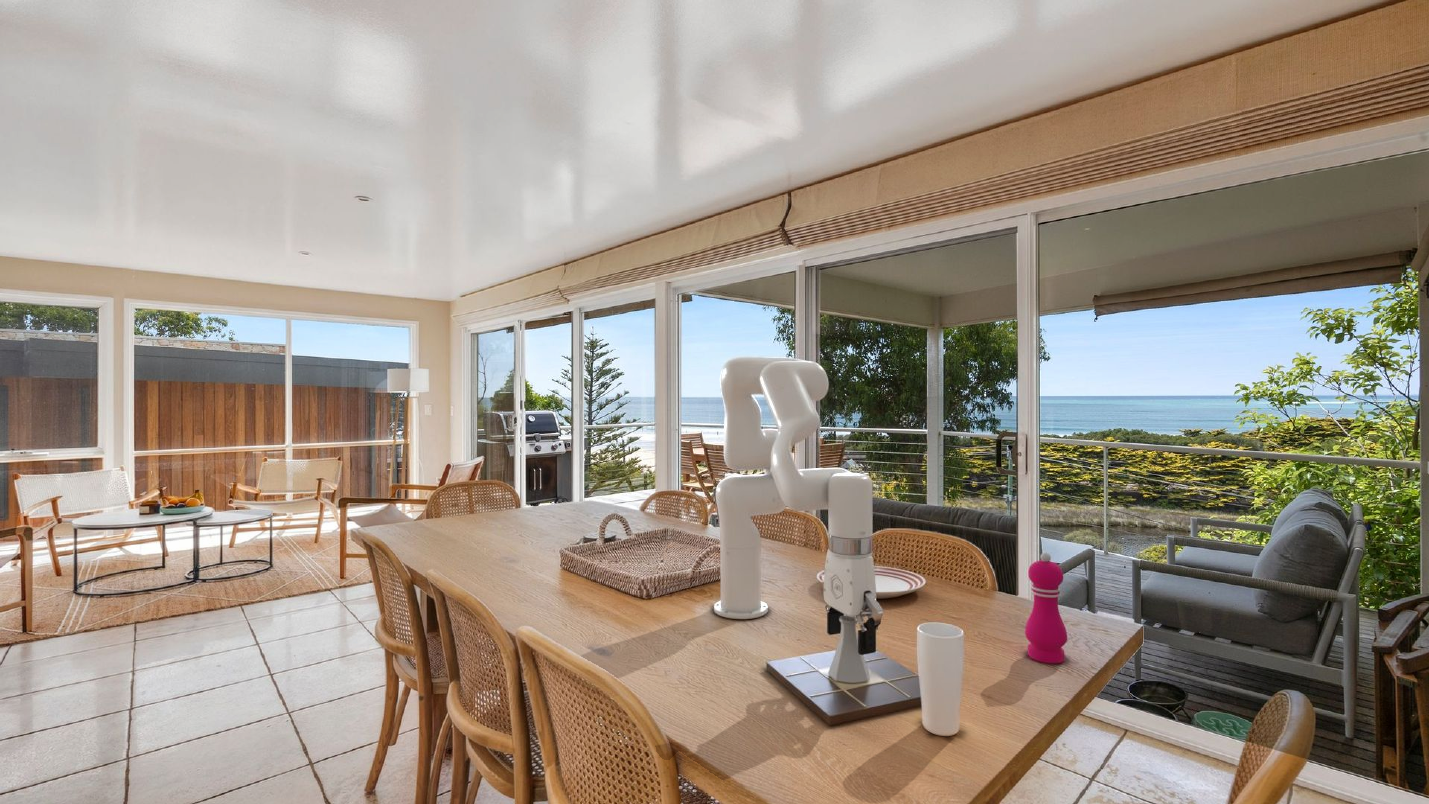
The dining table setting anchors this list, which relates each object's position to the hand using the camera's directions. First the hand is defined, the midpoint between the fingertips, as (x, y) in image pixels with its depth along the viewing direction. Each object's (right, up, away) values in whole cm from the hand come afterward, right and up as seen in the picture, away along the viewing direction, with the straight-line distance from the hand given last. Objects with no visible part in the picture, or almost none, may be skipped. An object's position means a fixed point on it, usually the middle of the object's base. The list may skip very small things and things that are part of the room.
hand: (850, 643), depth 114 cm
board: (0, -7, 0) cm, 7 cm away
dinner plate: (+17, -7, +56) cm, 59 cm away
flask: (0, -6, 0) cm, 6 cm away
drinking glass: (+10, -7, -15) cm, 20 cm away
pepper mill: (+40, -7, +11) cm, 42 cm away
